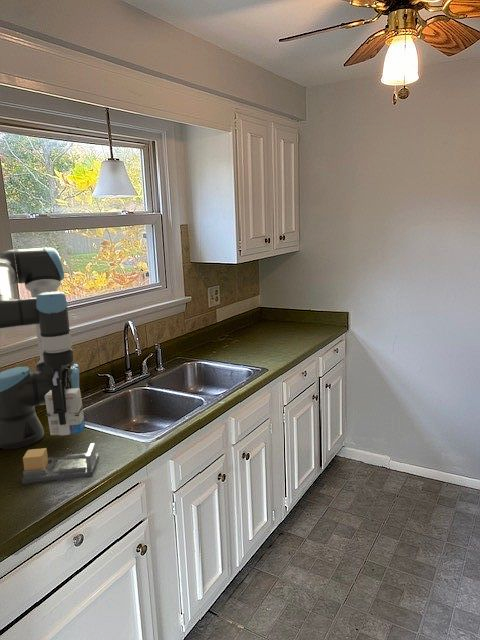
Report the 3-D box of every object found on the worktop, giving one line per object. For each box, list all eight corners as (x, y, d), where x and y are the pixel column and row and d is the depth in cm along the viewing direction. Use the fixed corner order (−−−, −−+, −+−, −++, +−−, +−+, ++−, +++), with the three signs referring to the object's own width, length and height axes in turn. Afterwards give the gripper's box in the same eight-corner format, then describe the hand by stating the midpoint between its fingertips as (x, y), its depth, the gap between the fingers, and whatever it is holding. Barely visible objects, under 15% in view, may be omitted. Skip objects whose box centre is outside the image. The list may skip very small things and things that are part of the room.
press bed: (34, 464, 142) (31, 447, 140) (98, 458, 144) (96, 440, 143) (22, 483, 131) (19, 465, 130) (92, 476, 133) (90, 458, 132)
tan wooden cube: (30, 464, 138) (28, 449, 137) (48, 462, 139) (46, 448, 138) (24, 473, 133) (22, 457, 133) (43, 471, 134) (41, 456, 133)
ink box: (85, 426, 138) (81, 387, 135) (80, 433, 133) (76, 393, 131) (55, 428, 137) (50, 388, 135) (49, 435, 133) (43, 394, 130)
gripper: (51, 342, 139) (61, 418, 144) (33, 359, 121) (44, 445, 126) (78, 340, 140) (87, 416, 144) (64, 357, 122) (74, 442, 127)
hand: (67, 430), depth 135 cm, fingers closed on ink box, 5 cm apart
